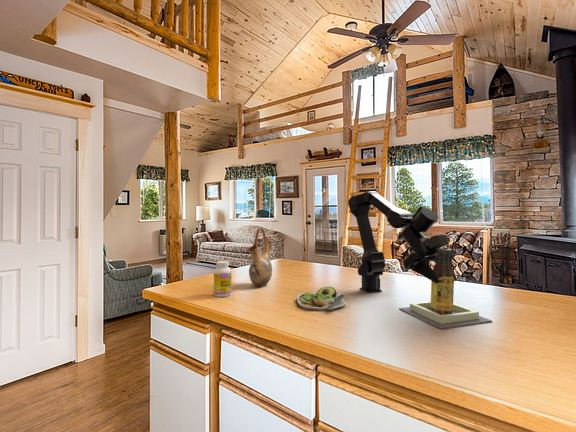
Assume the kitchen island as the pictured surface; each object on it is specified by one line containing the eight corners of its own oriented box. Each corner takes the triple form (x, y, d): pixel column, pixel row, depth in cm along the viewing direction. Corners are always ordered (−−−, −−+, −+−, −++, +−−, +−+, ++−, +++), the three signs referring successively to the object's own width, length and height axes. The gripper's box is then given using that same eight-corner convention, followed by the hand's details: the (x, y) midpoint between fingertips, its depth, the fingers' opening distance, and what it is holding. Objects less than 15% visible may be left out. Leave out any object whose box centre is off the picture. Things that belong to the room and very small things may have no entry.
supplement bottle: (219, 298, 118) (218, 263, 118) (210, 295, 123) (210, 261, 123) (235, 295, 123) (234, 261, 122) (226, 291, 128) (225, 259, 127)
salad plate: (355, 314, 101) (355, 299, 101) (298, 315, 100) (298, 300, 100) (342, 297, 120) (342, 284, 120) (295, 298, 119) (295, 285, 119)
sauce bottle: (437, 317, 94) (437, 250, 94) (426, 310, 101) (426, 248, 100) (458, 316, 95) (458, 250, 94) (446, 310, 101) (446, 247, 101)
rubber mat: (440, 329, 86) (440, 327, 86) (399, 309, 104) (399, 308, 104) (492, 321, 92) (492, 320, 92) (444, 304, 109) (444, 302, 109)
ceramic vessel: (261, 280, 147) (261, 226, 146) (279, 282, 143) (278, 226, 142) (241, 288, 132) (240, 228, 131) (259, 291, 128) (259, 229, 127)
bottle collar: (441, 324, 89) (441, 316, 89) (409, 309, 102) (409, 303, 102) (478, 318, 93) (478, 312, 93) (444, 305, 106) (444, 299, 106)
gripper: (410, 226, 96) (442, 268, 87) (451, 224, 105) (485, 262, 95) (391, 249, 104) (418, 290, 94) (431, 245, 112) (460, 283, 102)
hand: (446, 281), depth 96 cm, fingers open, 7 cm apart
